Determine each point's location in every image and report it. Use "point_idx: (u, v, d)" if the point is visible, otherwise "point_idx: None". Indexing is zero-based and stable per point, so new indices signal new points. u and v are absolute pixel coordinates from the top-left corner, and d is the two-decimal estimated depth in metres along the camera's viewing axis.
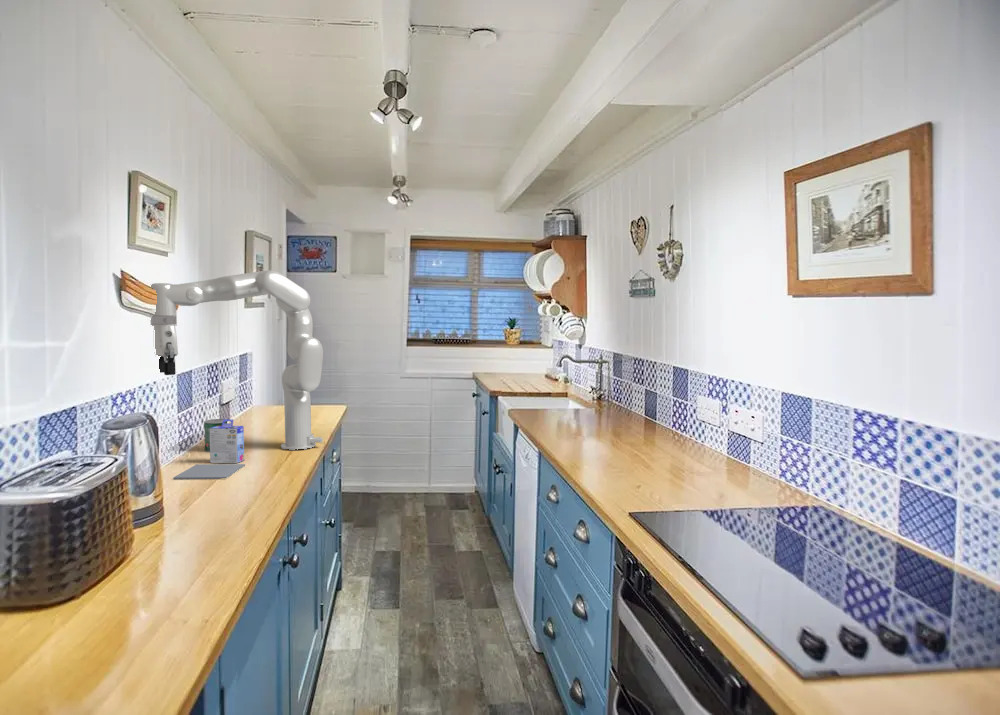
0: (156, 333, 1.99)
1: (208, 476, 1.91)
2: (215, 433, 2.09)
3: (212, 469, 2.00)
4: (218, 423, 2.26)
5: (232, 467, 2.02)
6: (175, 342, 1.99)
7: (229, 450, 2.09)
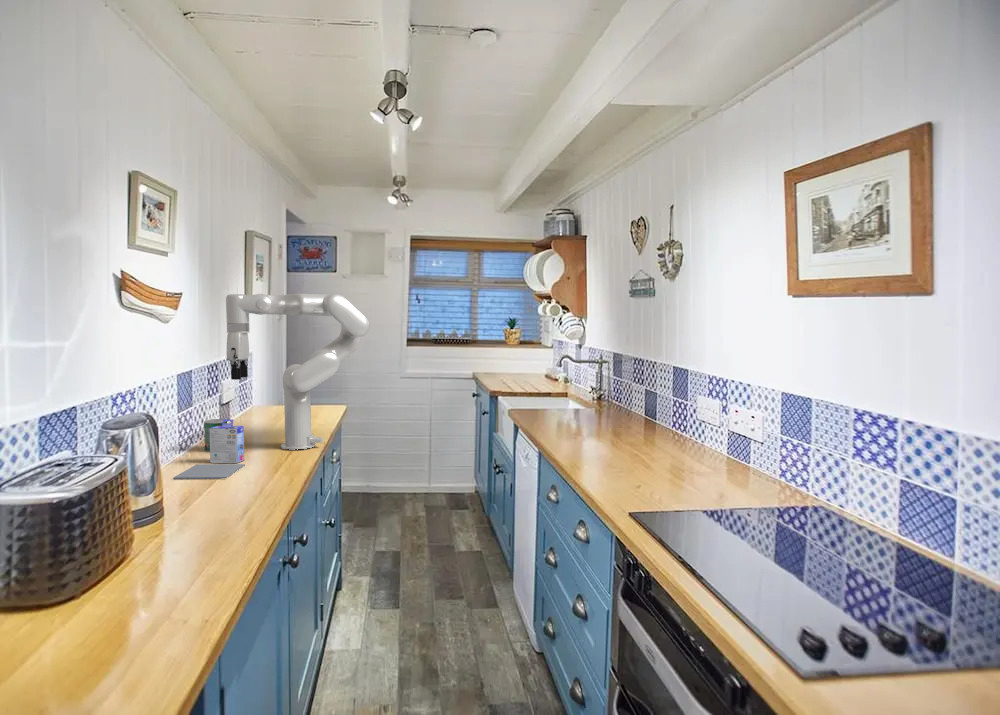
0: (246, 339, 2.23)
1: (208, 476, 1.91)
2: (215, 433, 2.09)
3: (212, 469, 2.00)
4: (218, 423, 2.26)
5: (232, 467, 2.02)
6: None
7: (229, 450, 2.09)
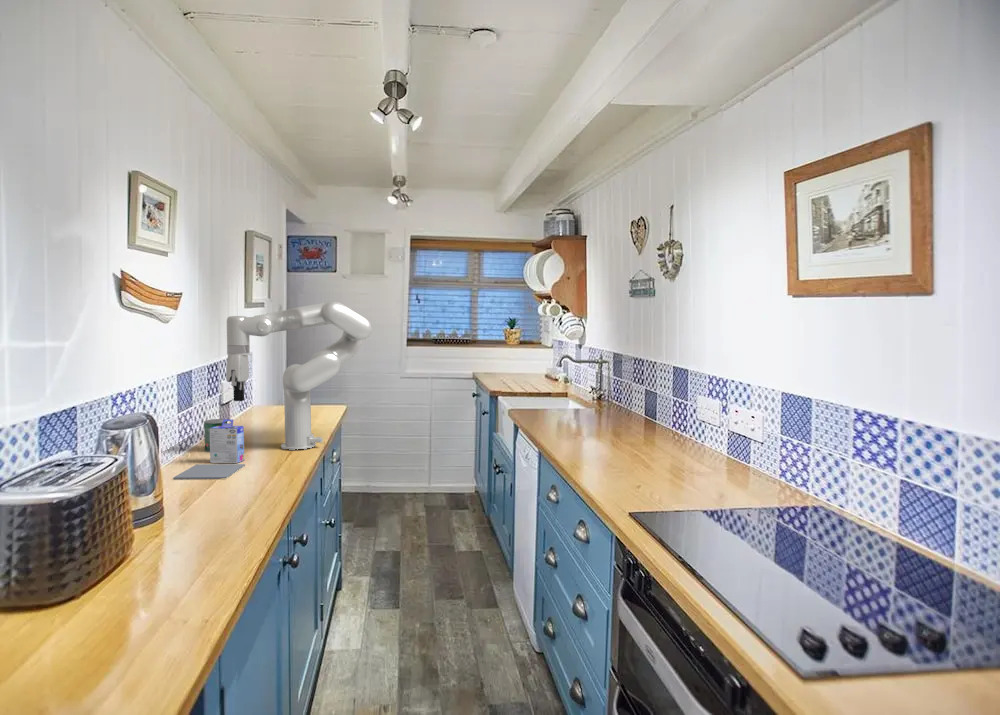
0: (246, 360, 2.23)
1: (208, 476, 1.91)
2: (215, 433, 2.09)
3: (212, 469, 2.00)
4: (218, 423, 2.26)
5: (232, 467, 2.02)
6: None
7: (229, 450, 2.09)
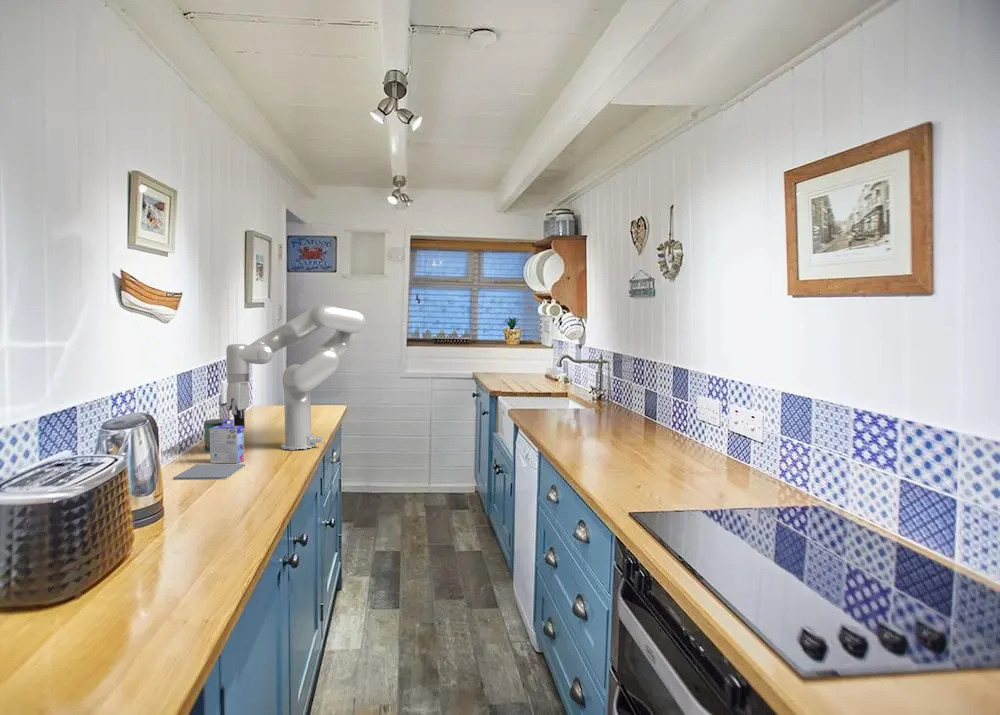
0: (246, 388, 2.23)
1: (208, 476, 1.91)
2: (215, 433, 2.09)
3: (212, 469, 2.00)
4: (218, 423, 2.26)
5: (232, 467, 2.02)
6: None
7: (229, 450, 2.09)
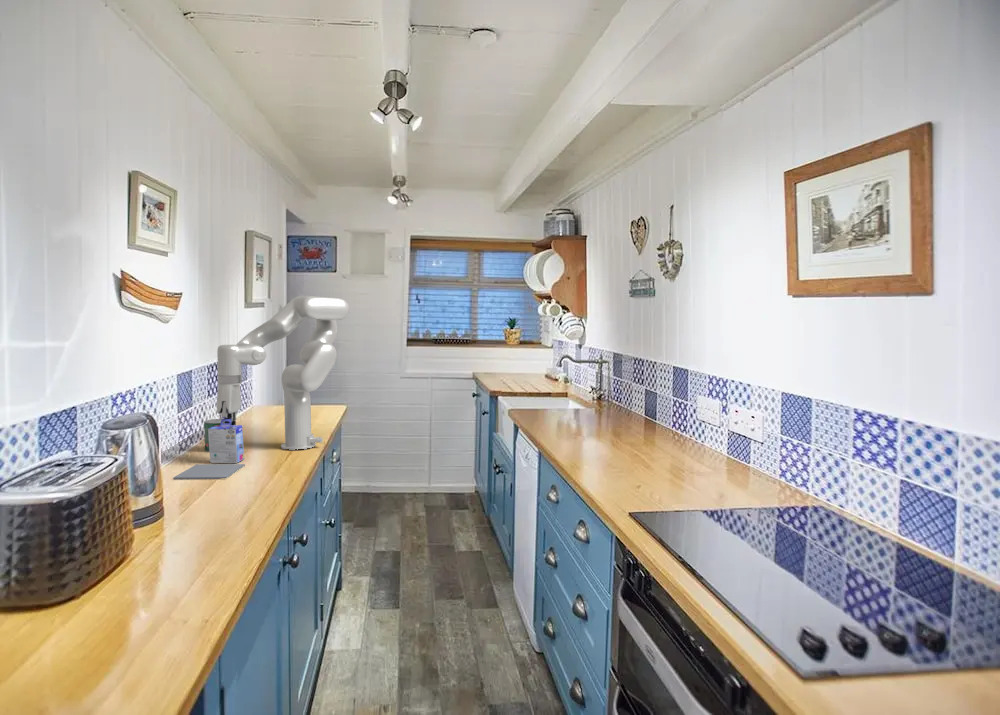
0: (238, 390, 2.15)
1: (208, 476, 1.91)
2: (214, 434, 2.08)
3: (212, 469, 2.00)
4: (218, 423, 2.26)
5: (232, 467, 2.02)
6: None
7: (228, 451, 2.09)
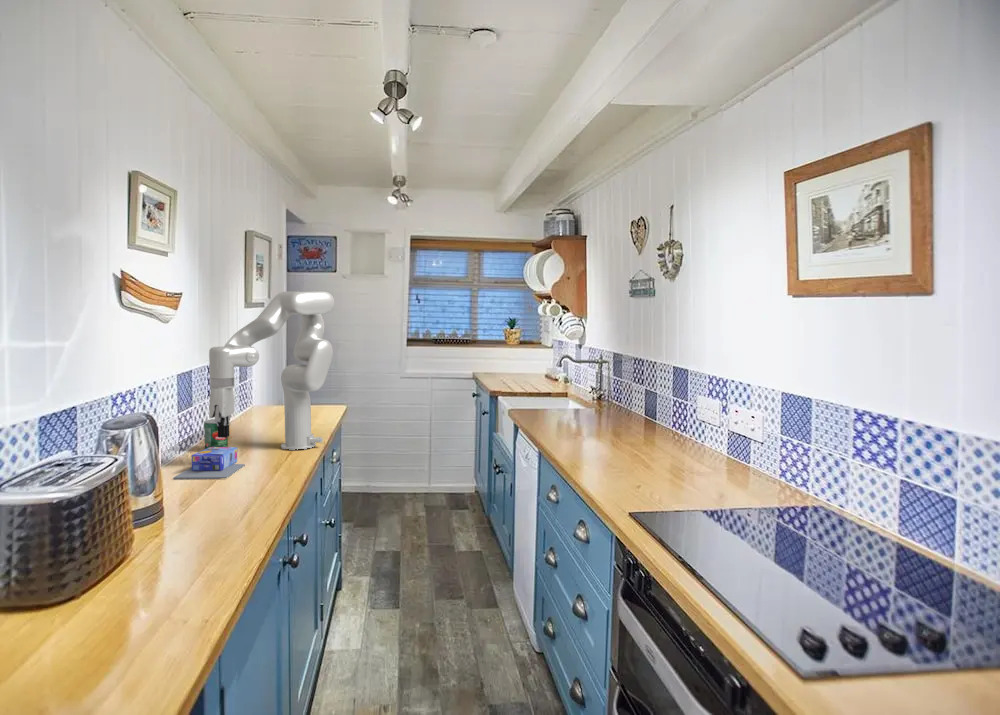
0: (231, 394, 2.09)
1: (208, 476, 1.91)
2: None
3: None
4: None
5: (232, 467, 2.02)
6: None
7: None
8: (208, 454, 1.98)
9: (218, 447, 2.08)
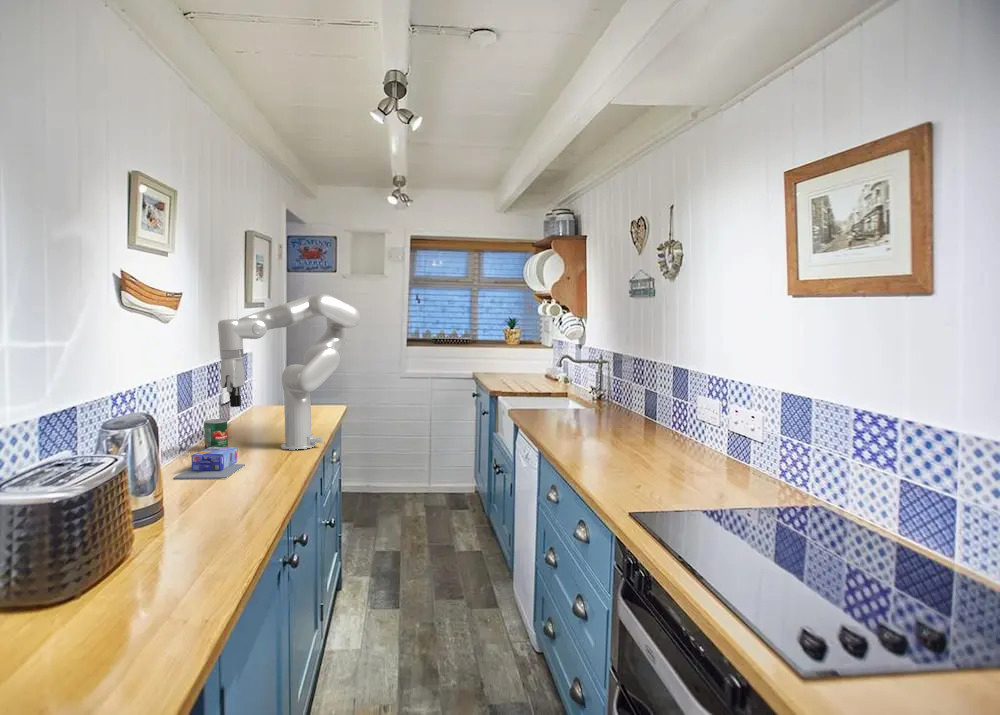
0: (240, 365, 2.17)
1: (208, 476, 1.91)
2: None
3: None
4: (218, 423, 2.26)
5: (232, 467, 2.02)
6: None
7: None
8: (208, 454, 1.98)
9: (218, 447, 2.08)
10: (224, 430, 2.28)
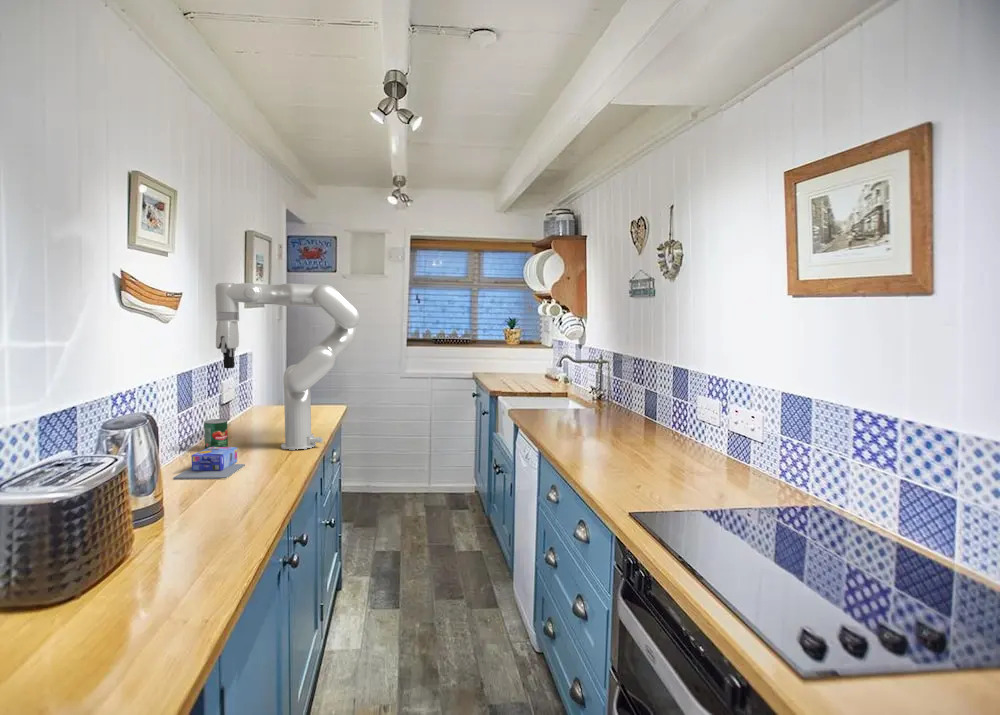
0: (236, 327, 2.23)
1: (208, 476, 1.91)
2: None
3: None
4: (218, 423, 2.26)
5: (232, 467, 2.02)
6: None
7: None
8: (208, 454, 1.98)
9: (218, 447, 2.08)
10: (224, 430, 2.28)
